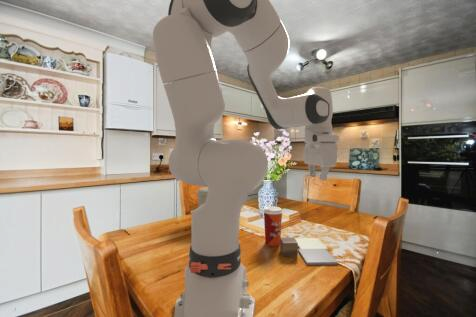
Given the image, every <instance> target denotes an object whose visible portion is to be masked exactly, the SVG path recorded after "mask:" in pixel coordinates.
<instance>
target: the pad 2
mask: <svg viewBox="0 0 476 317" xmlns="http://www.w3.org/2000/svg"><path fill="white" fill-rule="evenodd" d="M298 254H299V255H300V257H302V259H303V261H304V262H305V264H306V265H307V266H318V265H319V266H320V265H321V266H323V265H324V266H325V265H329V266H331V265H334V266H335V265H339V261H337V259H336V258H335V257H334V256H333V255H332V254H331V253H330V252H329V250H328V251H327V250H326V249H299V248H298Z"/></svg>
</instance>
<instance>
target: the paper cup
mask: <svg viewBox="0 0 476 317" xmlns="http://www.w3.org/2000/svg"><path fill="white" fill-rule="evenodd" d="M262 212H263V220H264V221H263V222H264V223H263V224H264V236H265V237H264V238H265V245H267V246H269V247H278V246H279V247H280V238H282V236H281V235H282V234H281V233H282V222H283V220H282V218H283V217H282V216H283V213H284V211H283V209H282V208H281V207H279V206H274V205H273V206H272V205H271V206H265V207H264V208H263V211H262Z"/></svg>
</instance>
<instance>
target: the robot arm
mask: <svg viewBox="0 0 476 317" xmlns="http://www.w3.org/2000/svg"><path fill="white" fill-rule="evenodd" d="M167 11H168V13H167V15H166V16H164V17H163V18H161V19H160V20H159V21H158V22H157V23H156V24H155V26H154V28H153V31H152V40H153V48H154V53H155V59H156V64H157V67H158V68H157V69H158V72H159V75H160V78H161V81H162V84H163V88H164V91H165V94H166V97H167V101H168V104H169V107H170V110H171V114H172V117H173V121H174V127H175V128H174V129H175V140H174V141H175V142H174V147H173V149H172V150H171V152H170V154H169V157H168V169H169V171H170V174H171V175H172V177H173V178H174V179H176V180H178V181H180V182H183V183H185V184H188V185H190V186H198V187H208V195H207V198H206V201H205V203H204V204H202V205H201V206H199V205H198V207H196V208H195V210H194V211H193V212H192V214H191V220H190V221H191V222H190V223H191V224H190V228H191V229H190V230H191V233H190V234H191V235H190V236H191V237H190V238H191V244H190V247H189V252H188V266H186V267H185V268H184V292H183V291H182V292H180V297H178V298H177V299H176V300H175V304H174V316H173V317H255V308H256V299H255V297H253V296H252V295H249V293H248V290H247V288H249V280H247V268H246V267H245V265H243V264H242V263H241V261H242V260H241V256H242V250H241V244H240V243H239V242H240V241H239V239H240V238H239V236H240V234H239V232H240V217H241V211H242V208H243V205H244V203H245V202H246V200H247V198H248V196H249V195H250V194H251V193H253V191H254V190H255V189H257V188H258V187H259V186H260V185H261V184H262V183H263V182H264V181H265V178H266V175H267V173H268V169H269V166H268V165H269V164H268V157H267V155H266V153H265V150H264V149H263V147H262V146H261V145H260V144H258V143H256V142H251V141H248V140H243V139H221V140H220V139H216V136H215V124H216V123H217V122H218V121H220V119H221V118H222V116H223V115H224V112H225V108H226V104H225V99H224V96H223V91H222V89H221V84H220V79H219V75H218V71H217V67H216V64H215V60H214V57H213V54H212V53H213V52H212V40H213V38H217V37H219V36H222V35H223V34H226V33H227V32H229V33H230V34H231V35H232V36H233V38H235V40H236V43H237V44H238V46H239V47H240V48H241V50H242V52H243V53H244V55H245V57H246V60H247V63H248V64H247V66H246V67H247V69H246V70H247V72H246V73H247V75H248V79H249V81H250V83H251V86H252V87H253V89H254V91H255V93H256V95H257V96H258V99H259V101H260V104H261V105H262V107H263V109H264V111H265V115H266V117H267V121H268V122H269V124H270V125H271V126H272V128H274V129H275V130H284V129H285V130H286V129H289V128H300V127H304V143H305V145H304V147H303V163H304V164H306V165H307V168H308V171H309V177H311V178H316V176H317V172H316V166H317V167H320V170H321V171H320V174H319V180H320V181H322V182H323V181H324V182H326V181H327V180H328V174H329V171H330V168H335V167H336V165H337V162H338V149H339V148H338V142H339V140H340V137H339V135H338V133H337V134H336V133H335V132H334V131H333V125H332V118H333V113H334V112H333V110H334V109H333V96H332V92H331V90H330V89H329V88H326V87H323V86H315V87H310V88H309V89H307V92H306V93H304V94H300V95H297V96H290V97H281V96H279V95H278V93H277V91H276V89H275V86H274V84H273V81H272V79H271V75H273V73H274V72H276V71H277V70H278V69H279V68H280V67H281V65H282V64H283V63H284V61H285V59H286V57H287V55H288V54H289V49H290V37H289V35H288V32H287V30H286V28H285V25H284V24H283V21H282V20H281V18H280V15H279V13H278V12H277V11H276V9H275V7H274V5H273V4H272V3H271V1H270V0H170V2H169V6H168V10H167Z"/></svg>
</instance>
